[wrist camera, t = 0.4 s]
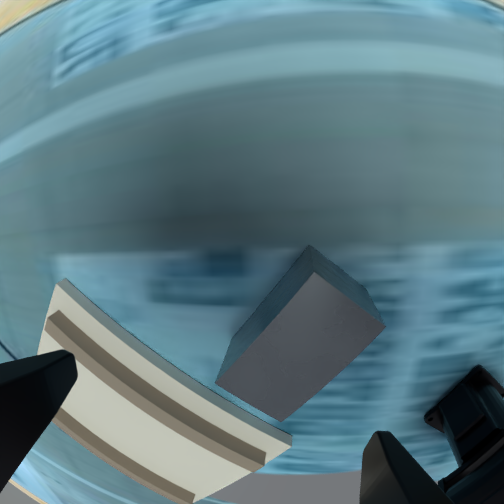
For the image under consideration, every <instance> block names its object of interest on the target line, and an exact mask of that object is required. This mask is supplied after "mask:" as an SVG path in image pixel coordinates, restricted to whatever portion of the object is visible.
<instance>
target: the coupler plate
mask: <svg viewBox="0 0 504 504" xmlns="http://www.w3.org/2000/svg"><path fill="white" fill-rule="evenodd" d="M60 349H65V350H67V351H69V352H71V353H73V354H74V356H75V360H76V365H77V371H78V378H77V381H76V382H75V384H74V386H73V387H72V389H71V391H70V392H69V394H68V396H67V397H66V399H65V401H64V402H63V404H62V406H61V407H60V409H59V411H58V412H57V414H56V415H55V417H54V418H53V420H52V422H53V423H55V424H56V425H57V426H58V427H59V428H61V429H62V430H63V431H64V432H65V433H67V434H68V435H69V436H70V437H72V438H73V439H74V440H76V441H77V442H78V443H80V444H81V445H82V446H84V447H85V448H86V449H88V450H89V451H90V452H92V453H93V454H95V455H96V456H97V457H99V458H100V459H102V460H103V461H105V462H106V463H108V464H109V465H111V466H112V467H114V468H115V469H117V470H118V471H120V472H122V473H123V474H125V475H126V476H128V477H130V478H131V479H133V480H135V481H137V482H138V483H140V484H142V485H143V486H145V487H147V488H149V489H151V490H153V491H154V492H156V493H158V494H160V495H162V496H164V497H166V498H168V499H170V500H172V501H174V502H176V503H178V504H192V503H194V502H196V501H198V500H200V499H202V498H204V497H206V496H208V495H210V494H212V493H214V492H216V491H218V490H220V489H222V488H224V487H226V486H228V485H230V484H231V483H233V482H235V481H237V480H239V479H240V478H242V477H244V476H246V475H247V474H249V473H251V472H255V471H257V470H258V469H260V468H262V467H263V466H264V465H265V464H266V463H267V462H269V461H270V460H272V459H274V458H275V457H277V456H278V455H280V454H281V453H283V452H284V451H286V450H287V449H289V448H290V447H292V436H291V435H289V434H287V433H285V432H283V431H281V430H279V429H277V428H275V427H274V426H272V425H270V424H268V423H266V422H264V421H262V420H260V419H259V418H257V417H255V416H253V415H251V414H250V413H248V412H246V411H244V410H243V409H241V408H239V407H237V406H236V405H234V404H232V403H231V402H229V401H227V400H226V399H224V398H222V397H221V396H219V395H218V394H216V393H214V392H213V391H211V390H209V389H208V388H206V387H205V386H203V385H202V384H200V383H199V382H197V381H196V380H194V379H192V378H191V377H189V376H188V375H186V374H185V373H183V372H182V371H181V370H179V369H178V368H176V367H175V366H173V365H172V364H170V363H169V362H168V361H166V360H165V359H163V358H162V357H161V356H159V355H158V354H156V353H155V352H154V351H152V350H151V349H150V348H148V347H147V346H146V345H144V344H143V343H142V342H140V341H139V340H138V339H136V338H135V337H134V336H132V335H131V334H130V333H129V332H127V331H126V330H125V329H124V328H122V327H121V326H120V325H119V324H117V323H116V322H115V321H114V320H112V319H111V318H110V317H109V316H108V315H106V314H105V313H104V312H103V311H102V310H100V309H99V308H98V307H97V306H96V305H95V304H93V303H92V302H91V301H90V300H89V299H88V298H87V297H85V296H84V295H83V294H82V293H81V292H80V291H79V290H78V289H76V288H75V287H74V286H73V285H72V284H71V283H70V282H69V281H68V280H67V279H66V278H65V279H64V280H62V281H60V282H58V283H56V286H55V289H54V292H53V295H52V299H51V302H50V306H49V309H48V313H47V316H46V320H45V324H44V328H43V332H42V336H41V340H40V344H39V348H38V353H37V355H40V354H44V353H48V352H52V351H56V350H60Z"/></svg>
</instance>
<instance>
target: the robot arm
mask: <svg viewBox="0 0 504 504" xmlns="http://www.w3.org/2000/svg"><path fill="white" fill-rule="evenodd" d="M77 378H78V371H77V365H76V360H75V356H74V354H73V353H71V352H69V351H67V350H65V349H60V350H56V351H52V352H48V353H44V354H40V355H36V356H32V357H27V358H23V359H19V360H14V361H10V362H5V363H1V364H0V493H1V491H2V490H3V488H4V487H5V485H6V484H7V482H8V481H9V479H10V478H11V476H12V475H13V474H14V472H15V471H16V469H17V468H18V466H19V465H20V464H21V462H22V461H23V459H24V458H25V456H26V455H27V454H28V452H29V451H30V449H31V448H32V447H33V445H34V444H35V442H36V441H37V440H38V438H39V437H40V436H41V434H42V433H43V432H44V430H45V429H46V428H47V426H48V425H49V424H50V422H51V421H52V420H53V418H54V417H55V415H56V414H57V412H58V411H59V409H60V407H61V406H62V404H63V402H64V401H65V399H66V397H67V396H68V394H69V392H70V391H71V389H72V387H73V386H74V384H75V382H76V381H77ZM503 398H504V388H503V387H502V386H501V385H500V384H499V383H498V382H497V381H496V380H495V379H494V378H493V377H492V376H491V375H490V374H489V373H488V372H487V371H486V370H485V369H484V368H483V367H482V366H481V365H479V366H477V367H476V368H475V369H474V370H473V371H472V372H471V373H470V374H469V375H468V376H467V377H466V378H465V379H464V380H463V381H462V382H461V383H460V384H459V385H458V386H457V387H456V388H455V389H454V390H453V391H452V392H451V393H450V394H448V395H447V396H446V397H445V398H444V399H443V400H442V401H441V402H440V403H439V404H438V405H436V406H435V407H434V408H433V409H432V410H431V411H430V412H428V413H427V414H426V415H425V416H424V420H425V422H426V423H427V424H429V425H430V426H432V427H434V428H436V429H438V430H439V431H441V432H443V433H445V434H446V437H447V439H448V442H449V444H450V446H451V449H452V451H453V454H454V456H455V459H456V461H457V464H458V466H459V468H457V469H456V470H455V471H453V472H452V473H451V474H449V475H448V476H447V477H445V478H442V479H441V480H440V481H438V485H437V484H436V483H435V482H434V480H433V479H432V478H431V477H430V476H429V475H428V474H427V473H426V471H425V470H424V469H423V468H422V467H421V466H420V465H419V464H418V463H417V461H416V460H415V459H414V458H413V457H412V456H411V455H410V454H409V452H408V451H407V450H406V449H405V448H404V447H403V446H402V445H401V443H400V442H399V441H398V440H397V439H396V438H395V437H394V435H393V434H392V433H391V432H389V431H376V432H375V433H374V434H373V435H372V437H371V439H370V440H369V442H368V444H367V445H366V447H365V449H364V451H363V458H362V473H361V486H360V504H504V400H503Z"/></svg>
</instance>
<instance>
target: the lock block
mask: <svg viewBox="0 0 504 504" xmlns="http://www.w3.org/2000/svg"><path fill="white" fill-rule="evenodd" d="M385 327H386V326H385V324H384V322H383V320H382V318H381V316H380V314H379V312H378V311H377V309H376V307H375V305H374V303H373V301H372V299H371V297H370V296H369V294H368V292H367V290H366V289H365V288H364V287H363V286H362V285H360V284H359V283H358V282H357V281H355V280H354V279H353V278H352V277H350V276H349V275H348V274H347V273H345V272H344V271H343V270H341V269H340V268H339V267H338V266H336V265H335V264H334V263H333V262H331V261H330V260H329V259H327V258H326V257H325V256H323V255H322V254H321V253H320V252H318V251H317V250H316V249H314V248H313V247H312V246H310V245H309V246H308V247H307V248H306V250H305V251H304V252H303V253H302V255H301V256H300V257H299V258H298V260H297V261H296V262H295V263H294V264H293V266H292V267H291V268H290V269H289V271H288V272H287V273H286V274H285V276H284V277H283V278H282V279H281V280H280V282H279V283H278V284H277V285H276V287H275V288H274V289H273V290H272V291H271V293H270V294H269V295H268V296H267V297H266V299H265V300H264V301H263V302H262V303H261V305H260V306H259V307H258V308H257V309H256V311H255V312H254V313H253V314H252V315H251V316H250V318H249V319H248V320H247V321H246V322H245V324H244V325H243V326H242V327H241V328H240V329H239V331H238V332H237V333H236V334H235V335H234V336H233V338H232V339H231V342H230V345H229V347H228V350H227V353H226V355H225V358H224V361H223V363H222V366H221V368H220V371H219V374H218V376H217V379H216V382H215V384H217V385H218V386H220V387H222V388H223V389H225V390H226V391H228V392H230V393H231V394H233V395H235V396H236V397H238V398H240V399H241V400H243V401H245V402H246V403H248V404H250V405H251V406H253V407H255V408H257V409H258V410H260V411H262V412H264V413H266V414H267V415H269V416H271V417H273V418H275V419H276V420H278V421H280V422H282V421H283V420H285V419H286V418H287V417H288V416H290V415H291V414H292V413H293V412H295V411H296V410H297V409H298V408H300V407H301V406H302V405H303V404H304V403H306V402H307V401H308V400H309V399H310V398H312V397H313V396H314V395H315V394H316V393H317V392H319V391H320V390H321V389H322V388H323V387H324V386H325V385H327V384H328V383H329V382H330V381H331V380H332V379H333V378H334V377H335V376H337V375H338V374H339V373H340V372H341V371H342V370H343V369H344V368H345V367H346V366H347V365H348V364H349V363H351V362H352V361H353V360H354V359H355V358H356V357H357V356H358V355H359V354H360V353H361V352H362V351H363V350H364V349H365V348H366V347H367V346H368V345H369V344H370V343H371V342H372V341H373V340H374V339H375V338H376V337H377V336H378V335H379V334H380V333H381V332H382V331H383V329H384V328H385Z"/></svg>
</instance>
